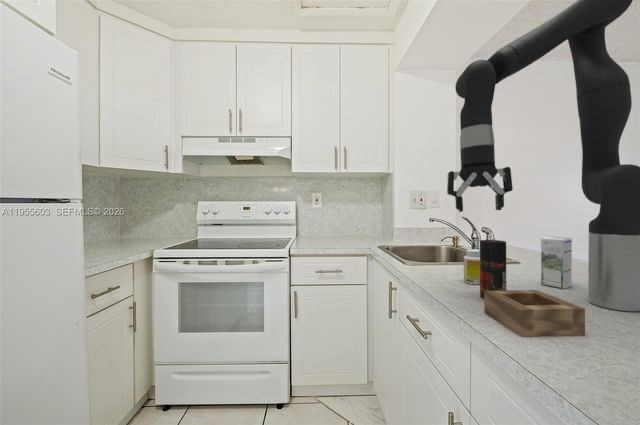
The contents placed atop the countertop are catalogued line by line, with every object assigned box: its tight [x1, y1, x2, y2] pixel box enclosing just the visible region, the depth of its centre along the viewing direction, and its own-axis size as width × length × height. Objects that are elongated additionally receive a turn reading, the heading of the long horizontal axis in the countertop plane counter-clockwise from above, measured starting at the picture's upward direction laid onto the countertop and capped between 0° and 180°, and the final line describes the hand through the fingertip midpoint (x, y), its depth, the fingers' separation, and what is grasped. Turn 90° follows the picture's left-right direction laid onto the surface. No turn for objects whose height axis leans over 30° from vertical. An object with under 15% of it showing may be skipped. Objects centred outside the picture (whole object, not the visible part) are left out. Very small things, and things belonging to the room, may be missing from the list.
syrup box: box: [540, 235, 573, 290], centre depth 86 cm, size 6×6×14 cm
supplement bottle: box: [463, 249, 480, 286], centre depth 91 cm, size 6×6×10 cm
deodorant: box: [479, 239, 507, 300], centre depth 76 cm, size 6×6×15 cm
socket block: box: [483, 289, 586, 337], centre depth 60 cm, size 12×12×5 cm
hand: (479, 210), depth 73 cm, fingers open, 8 cm apart
